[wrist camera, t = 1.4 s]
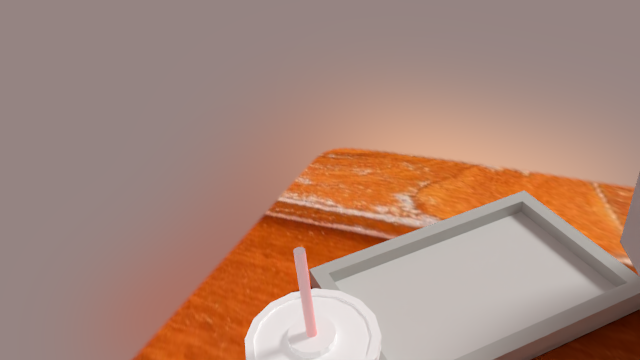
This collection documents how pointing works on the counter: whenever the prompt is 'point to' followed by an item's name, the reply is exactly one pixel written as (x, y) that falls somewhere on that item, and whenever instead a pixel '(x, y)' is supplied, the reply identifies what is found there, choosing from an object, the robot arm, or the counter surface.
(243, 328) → the counter surface
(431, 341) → the tray
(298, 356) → the beverage cup
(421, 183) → the counter surface
